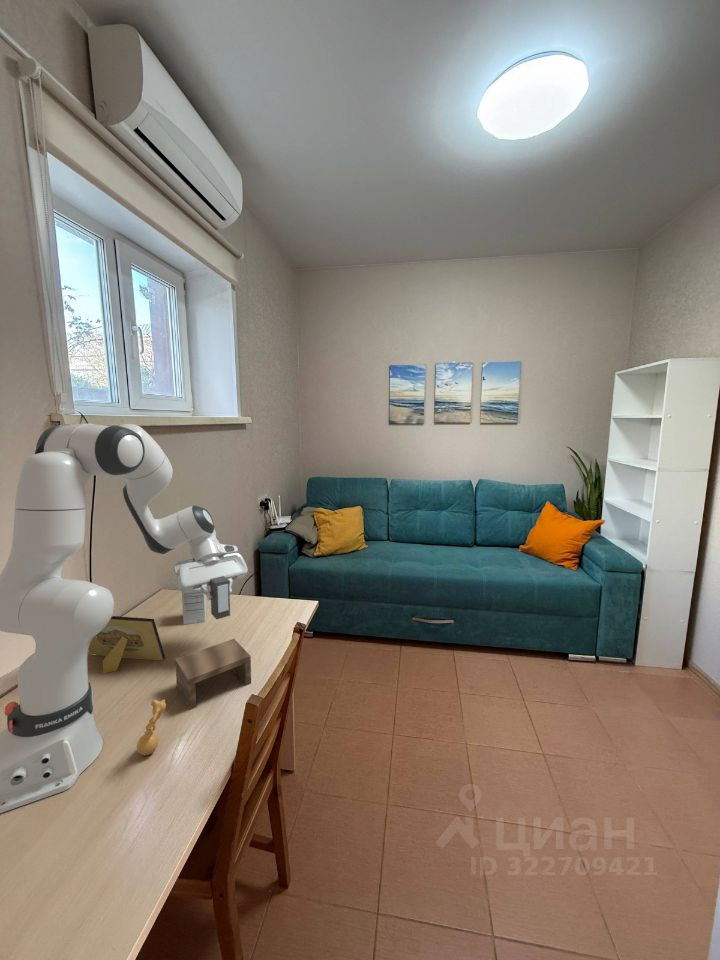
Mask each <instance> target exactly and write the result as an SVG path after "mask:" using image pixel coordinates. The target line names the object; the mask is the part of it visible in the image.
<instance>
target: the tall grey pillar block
mask: <svg viewBox="0 0 720 960" xmlns="http://www.w3.org/2000/svg"><path fill="white" fill-rule="evenodd" d="M210 580H211V582H210V586H209V587H210V589H209V590H210V592H212V591H213V594H214V599H211V600H210V613H211V615H212V616H213V617H214V618H215V619H216V620H220V619H223V618H226V617H230V616H231V603H230V601H231V600H230V598H231V597H230V595H231V594H230V592H229V580H228V579H227V578H226V577H224V576H221V577H217V578H212V579H210Z"/></svg>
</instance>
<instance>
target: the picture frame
mask: <svg viewBox="0 0 720 960" xmlns="http://www.w3.org/2000/svg"><path fill="white" fill-rule="evenodd" d="M163 649H164V648H163V646H162V642H161V639H160V635H159V632H158V628H157V625H156V622H155V618H148V617H147V618H146V617H145V618H144V617H134V616H133V617H130V616H118V615H116V616H115V615H112V617H111V619H110V621H109V622H108V624H107V625H106V627H105V628H104V629H103V630H102V631H101V632H99V633H98V634H97V635H95V636H94V637H93V639H92V640H91V642H90V645H89V648H88V653H90V654H89V655H91V654H96V655H95V656H98V655H105V656H104V657H105V658H104V659H103V660H102V672H103V673H102V674H107V673H111V672H115V671H118V669H119V666H120V663H121V661H122V658H127V659H136V660H137V659H140V660H150V661H164V660H165V659H166V655H165V652H164V650H163Z"/></svg>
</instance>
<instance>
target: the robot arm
mask: <svg viewBox="0 0 720 960" xmlns="http://www.w3.org/2000/svg"><path fill="white" fill-rule="evenodd" d="M173 473H174V470H173V466H172V464H171V461H170V459H169V458H168V456H167V454H166V453H165V452H164V450H163V449H162V447H161V446H160V444H158V442H156V441H155V439H154V438H153V437H152V436H151V435H150V434H149V433H148V432H147V431H146V430H145V429H143V428H142V427H141V426H139V425H138V424H134V423H123V424H119V425H105V424H95V423H75V424H73V423H72V424H67V423H65V424H59V425H54V426H51V427H49V428H47V429H45V430H44V431H43V432H42V433H41V435H40V436H39V438H38V440H37V442H36V445H35V452H34V454H33V455H31V456H29V457H28V458H26V460H24V462H23V464H22V468H21V470H20V473H19V478H18V481H17V485H16V492H15V497H14V517H13V518H14V519H13V530H12V543H11V548H10V553H9V555H8V558H7V561H6V564H5V566H4V568H3V569H2V571H1V573H0V632H2V633H8V634H9V633H10V634H16V635H23V636H24V635H25V636H31V637H32V638H33V640H34V643H35V649H34V652H33V653H31V654H30V656H28V657H27V658H26V659H25V660H24V661H23V662H22V663H21V664H20V666H19V668H18V669H17V672H16V673H17V674H16V680H17V693H18V699H19V704H18V702H16V701H10V702H8V703H6V705H5V707H4V715H5V716H6V718H7V719H6V723H7V725H6V726H7V727H6V728H5V729H4V730H2V731H1V732H0V814H2V813H5V812H8V811H10V810H13V809H17V808H20V807H22V806H25V805H28V804H30V803H33V802H37V801H39V800H42V799H44V798H47V797H50V796H53V795H56V794H59V793H63V792H65V791H67V790H68V789H70V788H71V787H72V786H73V785H74V784H75V783H76V781H77V779H78V778H79V776H80V775H81V773H83V772H84V771H85V770H86V769H87V768H88V767H90V765H92V764H93V762H95V760H96V759H97V758H98V757H99V755H100V753H101V751H102V749H103V747H104V746H103V745H104V741H103V738H102V735H101V734H100V732H99V730H98V727H97V725H96V722H95V719H94V717H95V716H94V715H93V711H94V693H93V688H92V686H91V682H89V672H88V670H89V669H88V667H89V666H88V653H89V649H88V648H89V645H90V642H91V640H92V639H93V637H94V636H95V635H97V634H98V633H99V632H101V631H102V630H103V629H104V628H105V627H106V625H107V624H108V622H109V621H110V619H111V617H112V616H113V614H114V609H115V599H114V595H113V594H112V592H111V591H110V589H109V588H107V587H104V586H101V585H99V584H98V583H97V584H96V583H93V582H91V581H87V580H82V579H81V580H80V579H72V578H71V579H70V578H62V572H63V567H64V565H65V563H66V561H67V560H68V558H70V557H71V556H73V555H74V554H77V552H79V551H80V550H81V549H82V548H83V546H84V543H85V533H86V531H85V530H86V510H87V509H86V508H87V507H86V506H87V492H86V491H87V490H86V484H87V482H88V480H89V478H90V477H91V476H110V475H111V476H122V477H123V478H124V480H125V481H126V484H125V485H124V487H123V488H122V494H123V499H124V502H125V505H126V506H127V507H126V508H128V510H129V513H130V514H131V516H132V518H133V519H134V521H135V523H136V525H137V527H138V528H139V530H140V532H141V534H142V536H143V538H144V541H145V544H146V545H147V547H148V549H149V550H150V551H151V552H153V553H155V554H160V555H166V554H167V553H169V552H171V551H173V550H175V549H176V548H178V547H180V546H182V545H185V544H187V543H188V545H189V546H190V548H189V550H190V555H191V558H190V559H186V560H180V561H178V562H177V563H176V564H174V566H173V571H174V574H175V575H176V576H177V584H178V589H179V591H181V593H182V592H186V591H190V590H194V589H198V588H200V589H201V591H202V592H203V593H204V594H205V595H206V599H207V600H208V601H211V599H214V594H213V591H212V592H211V590H210V589H208V587H210V582H211V580H210V579H212V578H217V577H221V576H224V577H226V578H227V579H228V580H229V592H230V595H232V594H233V590H232V586H233V582H234V581H235V580H239V579H243V578H245V577H246V576H247V574H248V573H249V569H248V566H247V563H246V561H245V559H244V557H243V555H241V554H240V553H239V552H238V551H239V550H238V546H236V545H230V544H223V543H220V541H219V539H217V531H216V529H215V528H216V527H215V523H214V520H213V518H212V515H211V514H210V512H209V511H208V510H207V509H206V508H203V507H201V506H198V505H190V506H187V507H186V508H182V509H180V510H179V511H176V512H174V513H171V514H170V515H167V516H165V517H162V518H154V515H153V513H152V512H151V510H150V508H149V506H148V505H149V504H150V503H152V501H153V500H154V499H155V498H157V497H158V496H159V495H161V493H163V492H164V491H165V490H166V489H167V488H168V486H169V485H170V483H171V482H172V479H173Z"/></svg>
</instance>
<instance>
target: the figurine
mask: <svg viewBox="0 0 720 960" xmlns="http://www.w3.org/2000/svg"><path fill="white" fill-rule="evenodd" d="M150 705H151V706H152V710H151V712H152V717H151V718H150V719H149V720H148V724H147V725H146V726H145V730H146V731H144V732H143V733H144V734H143V735H142V736H141V737H139V739H138V741H137V744H136V749H137V752H138V754H140V755H141V756H149V755H150V754H153V753H154V752H155V750H156V749H157V747H158V744H159V737H158V735H157V734H155V733H154V732H155V730H156V729H157V721H158V720H159V719H160V718H161V716H162V714H163V713H164V711H165V710H166V707H167V704H166V699H162V700H160V701H159V700H156V699H153V700H152V701H151V704H150Z"/></svg>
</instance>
